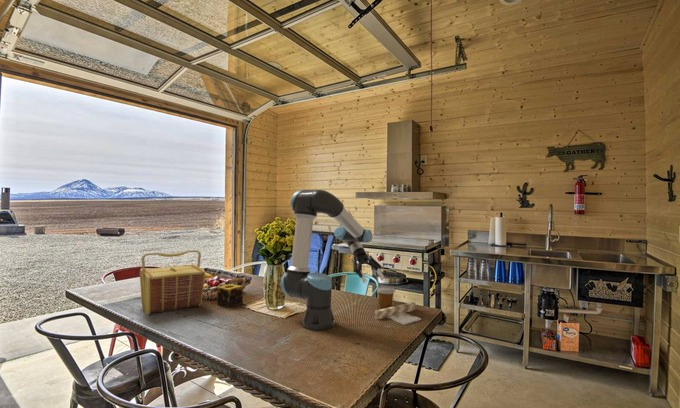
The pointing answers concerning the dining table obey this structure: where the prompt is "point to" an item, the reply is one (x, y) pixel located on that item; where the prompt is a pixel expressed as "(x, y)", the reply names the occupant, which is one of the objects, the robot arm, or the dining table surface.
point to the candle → (229, 295)
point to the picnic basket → (171, 285)
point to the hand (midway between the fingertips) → (374, 280)
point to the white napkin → (404, 318)
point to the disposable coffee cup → (385, 296)
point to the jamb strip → (394, 310)
